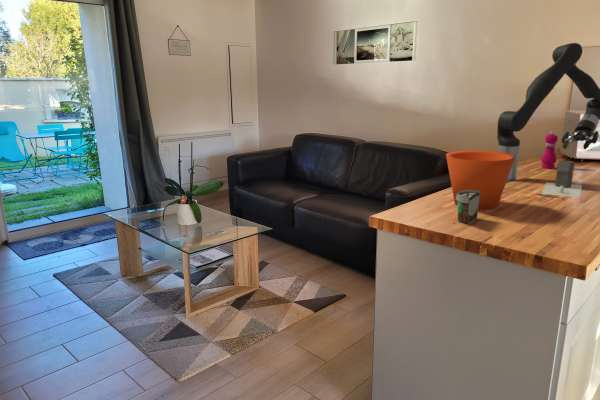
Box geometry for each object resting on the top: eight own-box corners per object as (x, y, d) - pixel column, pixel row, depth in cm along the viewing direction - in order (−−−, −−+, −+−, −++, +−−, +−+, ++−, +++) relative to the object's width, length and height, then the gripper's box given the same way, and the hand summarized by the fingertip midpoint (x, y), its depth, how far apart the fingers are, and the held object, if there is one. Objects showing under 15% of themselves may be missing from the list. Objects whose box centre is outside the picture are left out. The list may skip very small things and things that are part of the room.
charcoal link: (566, 188, 192) (569, 163, 189) (555, 186, 196) (558, 161, 193) (571, 186, 195) (574, 161, 192) (560, 184, 198) (563, 160, 196)
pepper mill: (537, 167, 243) (541, 131, 238) (546, 166, 246) (550, 130, 241) (549, 169, 237) (554, 132, 232) (558, 168, 240) (563, 131, 235)
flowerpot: (489, 217, 159) (494, 163, 154) (430, 204, 178) (433, 155, 173) (521, 204, 174) (527, 154, 169) (464, 193, 193) (467, 148, 188)
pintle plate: (580, 200, 177) (581, 190, 176) (540, 196, 185) (542, 186, 184) (581, 187, 197) (582, 178, 196) (546, 184, 204) (547, 175, 203)
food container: (461, 214, 163) (463, 188, 161) (478, 217, 160) (480, 190, 157) (448, 222, 154) (450, 195, 152) (466, 226, 150) (468, 197, 148)
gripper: (569, 120, 214) (556, 141, 208) (602, 118, 203) (589, 141, 197) (572, 132, 218) (559, 153, 212) (605, 131, 207) (593, 154, 201)
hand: (574, 147), depth 205 cm, fingers open, 8 cm apart
